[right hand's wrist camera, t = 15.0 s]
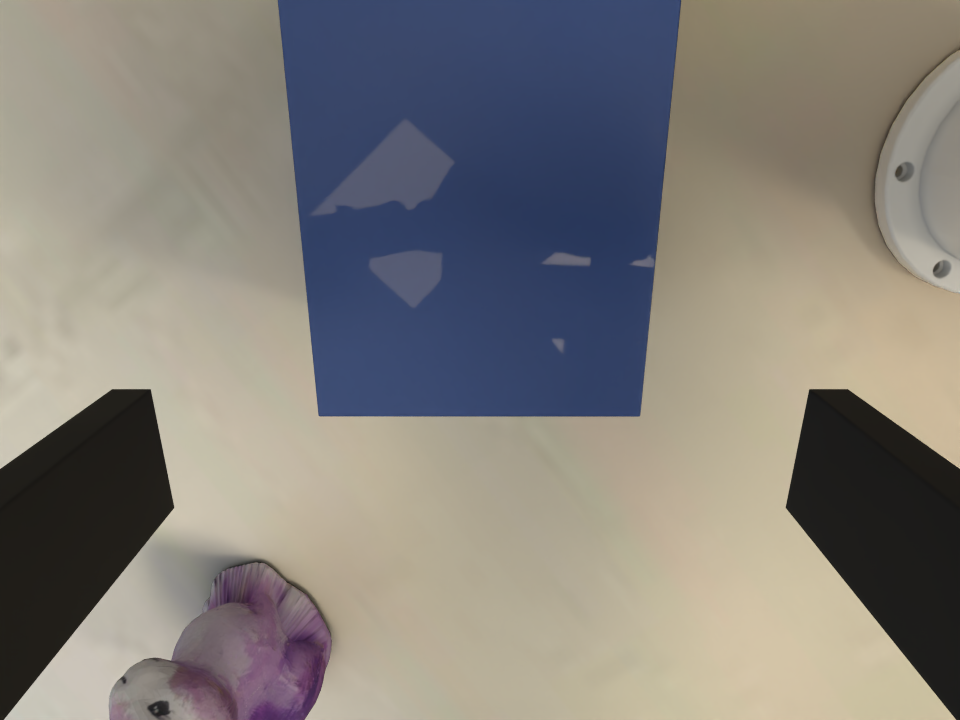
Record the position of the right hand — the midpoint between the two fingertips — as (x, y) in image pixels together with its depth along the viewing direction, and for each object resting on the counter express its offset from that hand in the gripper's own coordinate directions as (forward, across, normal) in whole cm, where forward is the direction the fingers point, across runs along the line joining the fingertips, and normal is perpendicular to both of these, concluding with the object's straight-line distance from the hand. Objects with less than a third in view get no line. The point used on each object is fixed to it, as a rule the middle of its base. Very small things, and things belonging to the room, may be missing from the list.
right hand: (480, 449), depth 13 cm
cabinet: (+21, 0, -3) cm, 21 cm away
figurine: (+21, +14, +24) cm, 34 cm away
